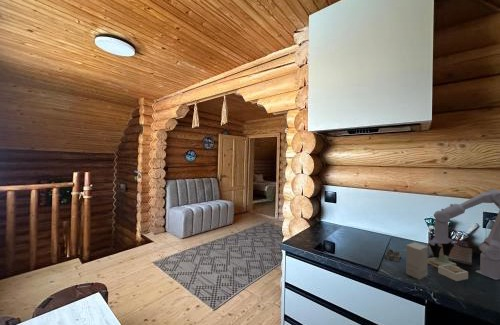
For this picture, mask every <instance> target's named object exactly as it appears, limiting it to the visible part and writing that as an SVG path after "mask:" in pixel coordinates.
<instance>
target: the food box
mask: <svg viewBox="0 0 500 325" xmlns="http://www.w3.org/2000/svg"><path fill="white" fill-rule="evenodd" d="M449 268H453V269H455V270H457V271H458V273H454V272H452V271H450V270H447V269H449ZM437 271H438V274H439V275H442V276H444V277H447V278H449V279H451V280H453V281H455V282H460V281H465V280H469V271H467V270H465V269H463V268H461V267H460V268H457V267H455V266H453V265H450V264H448V265H442V266H438V268H437Z"/></svg>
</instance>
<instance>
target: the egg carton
mask: <svg viewBox="0 0 500 325" xmlns="http://www.w3.org/2000/svg"><path fill="white" fill-rule="evenodd" d="M384 254H385V255H384V256H385V259H386V260H388V261H393V262H394V263H395V262H400V260H401V258H402V252H399V251H394V250H393V249H392V248H390V247H388V248H387V250H386V252H385V253H384Z"/></svg>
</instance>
